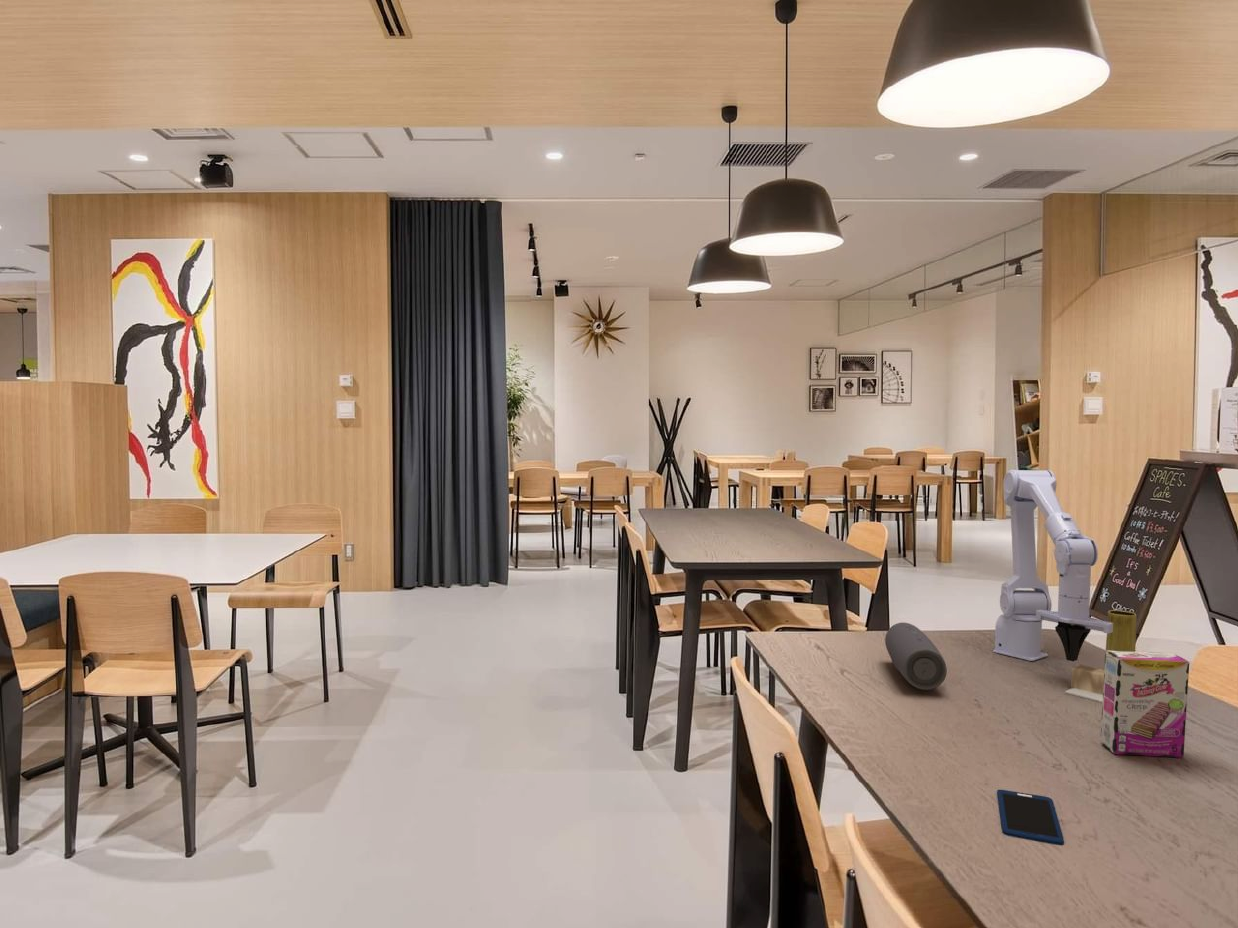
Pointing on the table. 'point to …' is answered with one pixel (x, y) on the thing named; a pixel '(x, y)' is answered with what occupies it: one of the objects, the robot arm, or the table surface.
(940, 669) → the bluetooth speaker
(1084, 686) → the block
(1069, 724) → the table surface
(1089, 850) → the table surface
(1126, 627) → the vase
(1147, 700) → the candy bar box
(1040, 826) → the cell phone
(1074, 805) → the table surface
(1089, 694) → the mat
